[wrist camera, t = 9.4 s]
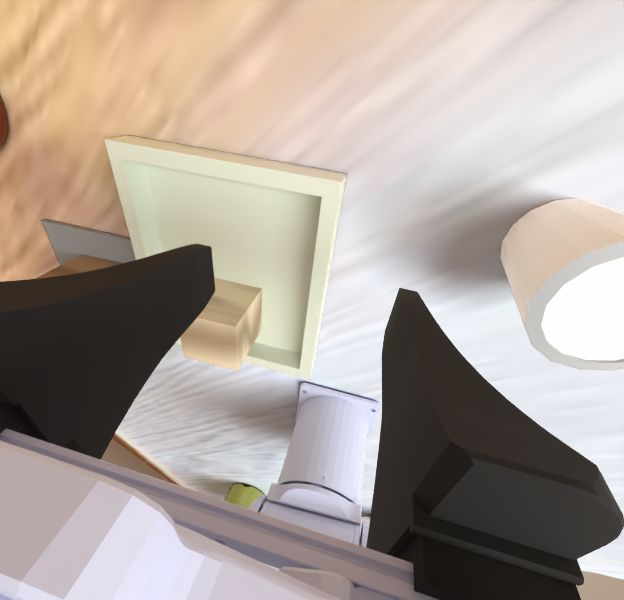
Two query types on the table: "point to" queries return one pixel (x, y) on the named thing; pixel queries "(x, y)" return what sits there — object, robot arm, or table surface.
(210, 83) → the table surface
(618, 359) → the shot glass
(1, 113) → the poop emoji
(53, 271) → the walnut block
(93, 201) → the table surface
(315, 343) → the parts tray
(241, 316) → the maple block
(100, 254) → the felt mat
